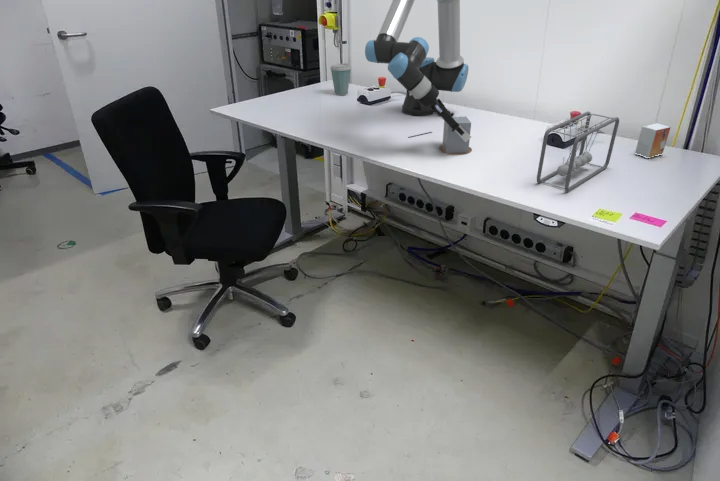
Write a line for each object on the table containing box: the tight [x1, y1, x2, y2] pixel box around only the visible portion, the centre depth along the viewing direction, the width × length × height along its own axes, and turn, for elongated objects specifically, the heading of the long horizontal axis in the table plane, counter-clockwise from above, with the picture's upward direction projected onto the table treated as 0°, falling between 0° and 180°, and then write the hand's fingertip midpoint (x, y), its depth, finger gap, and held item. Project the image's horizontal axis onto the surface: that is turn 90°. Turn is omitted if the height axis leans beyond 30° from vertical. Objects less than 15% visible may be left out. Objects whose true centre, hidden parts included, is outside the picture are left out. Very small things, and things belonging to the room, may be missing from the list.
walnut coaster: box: [438, 145, 473, 156], centre depth 188 cm, size 12×12×1 cm
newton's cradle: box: [536, 111, 620, 193], centre depth 162 cm, size 30×10×18 cm, turn 134°
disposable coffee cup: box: [330, 62, 352, 96], centre depth 259 cm, size 11×11×15 cm
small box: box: [634, 122, 672, 157], centre depth 179 cm, size 8×6×10 cm
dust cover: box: [441, 116, 472, 154], centre depth 185 cm, size 8×8×11 cm
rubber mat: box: [407, 131, 433, 139], centre depth 199 cm, size 12×12×1 cm
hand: (465, 135), depth 185 cm, fingers open, 9 cm apart
